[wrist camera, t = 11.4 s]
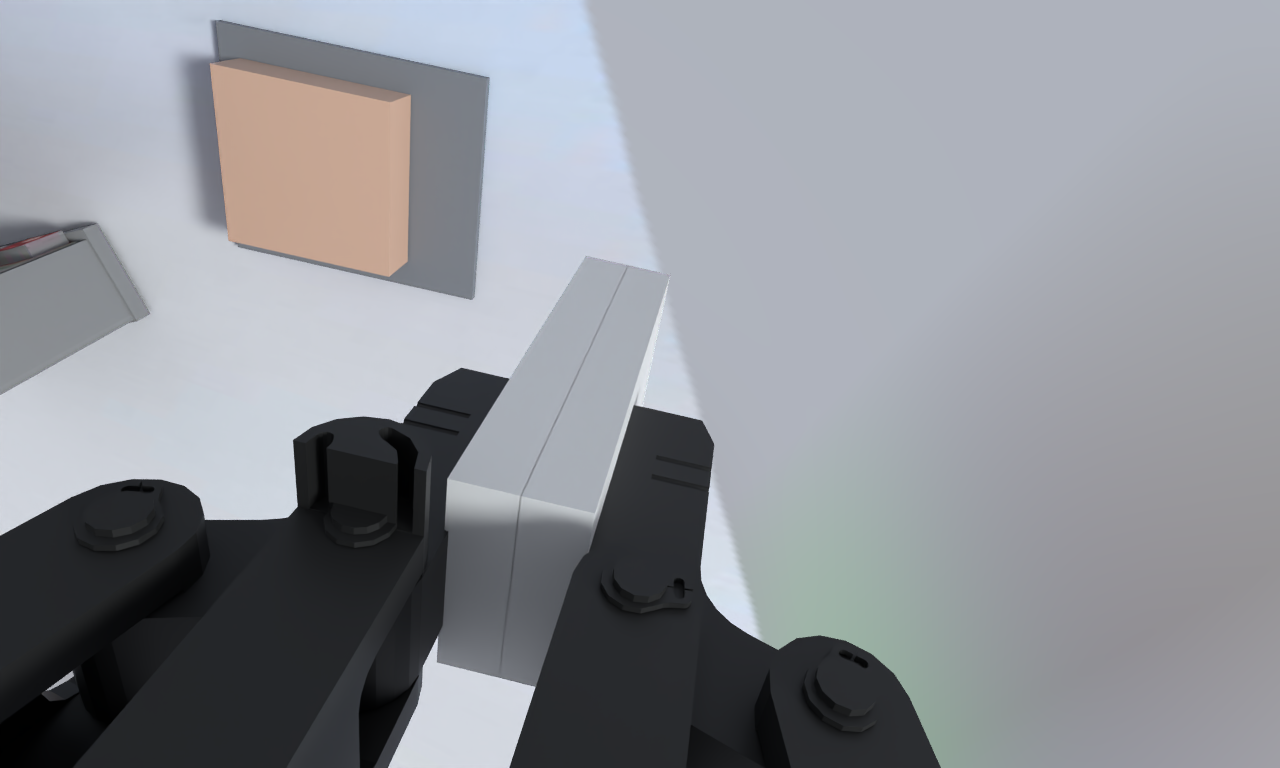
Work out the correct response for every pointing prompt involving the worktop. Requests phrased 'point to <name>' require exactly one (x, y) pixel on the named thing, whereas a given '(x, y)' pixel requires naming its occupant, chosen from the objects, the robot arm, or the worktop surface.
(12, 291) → the cassette tape recorder
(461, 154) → the mat
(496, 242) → the worktop surface
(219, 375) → the worktop surface
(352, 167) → the tile
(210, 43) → the worktop surface
